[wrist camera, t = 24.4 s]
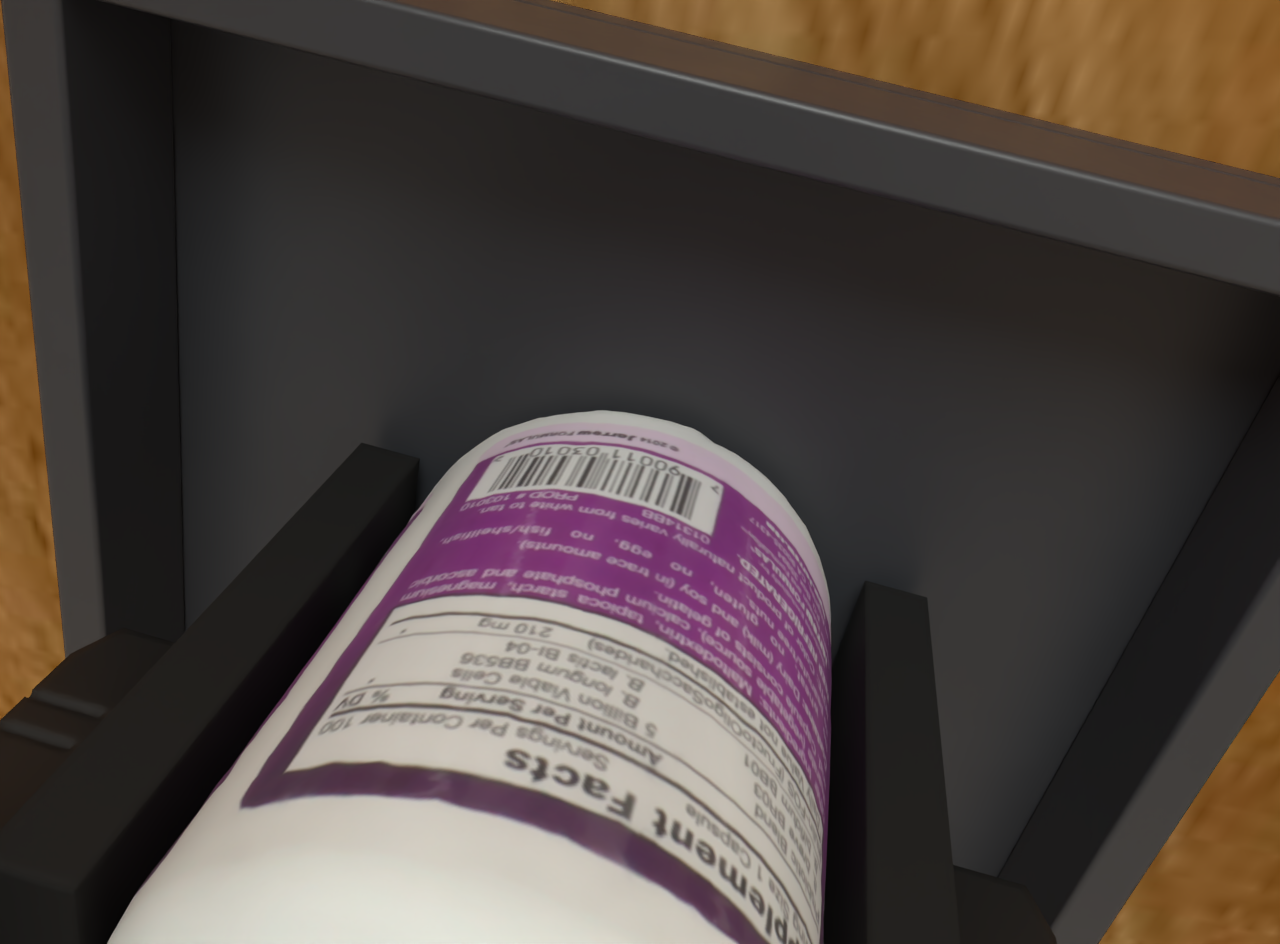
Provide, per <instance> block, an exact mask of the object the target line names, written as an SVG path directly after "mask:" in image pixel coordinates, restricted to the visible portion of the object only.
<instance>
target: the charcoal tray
mask: <svg viewBox="0 0 1280 944" xmlns="http://www.w3.org/2000/svg"><path fill="white" fill-rule="evenodd" d="M1 3H2V13H3V23H4V34H5V44H6V54H7V64H8V75H9V85H10V95H11V105H12V116H13V126H14V136H15V146H16V157H17V167H18V177H19V187H20V198H21V208H22V218H23V228H24V239H25V249H26V259H27V269H28V280H29V290H30V300H31V310H32V321H33V331H34V341H35V351H36V361H37V372H38V382H39V392H40V402H41V413H42V423H43V433H44V443H45V454H46V464H47V474H48V484H49V495H50V505H51V515H52V525H53V536H54V546H55V556H56V566H57V577H58V587H59V597H60V607H61V618H62V628H63V638H64V648H65V659H66V658H67V657H68V656H69V655H70V654H71V653H73V652H75V651H77V650H79V649H81V648H83V647H85V646H87V645H89V644H91V643H93V642H95V641H97V640H99V639H101V638H103V637H105V636H107V635H109V634H111V633H113V632H115V631H117V630H119V629H121V628H126V629H130V630H133V631H137V632H140V633H144V634H147V635H151V636H154V637H157V638H161V639H164V640H168V641H171V642H176V641H177V640H178V639H179V638H180V637H181V636H182V635H183V633H184V632H185V631H186V630H187V629H188V628H189V627H190V626H191V625H192V624H193V623H194V622H195V621H196V620H197V618H198V617H199V616H200V615H201V614H202V613H203V612H204V611H205V610H206V609H207V608H208V607H209V606H210V605H211V603H212V602H213V601H214V600H215V599H216V598H217V597H218V596H219V595H220V594H221V593H222V592H223V591H224V590H225V588H226V587H227V586H228V585H229V584H230V583H231V582H232V581H233V580H234V579H235V578H236V577H237V576H238V574H239V573H240V572H241V571H242V570H243V569H244V568H245V567H246V566H247V565H248V564H249V563H250V562H251V561H252V559H253V558H254V557H255V556H256V555H257V554H258V553H259V552H260V551H261V550H262V549H263V548H264V547H265V546H266V544H267V543H268V542H269V541H270V540H271V539H272V538H273V537H274V536H275V535H276V534H277V533H278V532H279V531H280V529H281V528H282V527H283V526H284V525H285V524H286V523H287V522H288V521H289V520H290V519H291V518H292V517H293V516H294V514H295V513H296V512H297V511H298V510H299V509H300V508H301V507H302V506H303V505H304V504H305V503H306V502H307V501H308V499H309V498H310V497H311V496H312V495H313V494H314V493H315V492H316V491H317V490H318V489H319V488H320V487H321V485H322V484H323V483H324V482H325V481H326V480H327V479H328V478H329V477H330V476H331V475H332V474H333V473H334V472H335V470H336V469H337V468H338V467H339V466H340V465H341V464H342V463H343V462H344V461H345V460H346V459H347V458H348V457H349V455H350V454H351V453H352V452H353V451H354V450H355V449H356V448H357V447H358V446H359V445H360V444H361V443H365V444H369V445H372V446H376V447H380V448H383V449H387V450H391V451H394V452H398V453H402V454H405V455H409V456H413V457H416V458H420V463H419V472H418V481H417V490H416V499H415V508H414V513H415V512H416V511H417V510H418V509H419V508H420V506H421V505H422V503H423V502H424V501H425V500H426V498H427V497H428V495H429V494H430V492H431V491H432V489H433V488H434V487H435V485H436V484H437V483H438V482H439V481H440V479H441V478H442V477H443V476H444V475H445V473H446V472H447V471H448V470H449V469H450V468H451V467H452V466H453V465H454V464H455V463H456V462H457V461H458V460H459V459H460V458H461V457H462V456H464V455H465V454H466V453H468V452H469V451H470V450H472V449H473V448H474V447H476V446H477V445H479V444H480V443H482V442H483V441H485V440H486V439H488V438H489V437H491V436H492V435H494V434H496V433H498V432H500V431H501V430H503V429H506V428H509V427H512V426H515V425H518V424H521V423H524V422H528V421H531V420H534V419H537V418H543V417H549V416H554V415H560V414H569V413H577V412H590V411H596V410H607V411H616V412H626V413H632V414H638V415H643V416H649V417H653V418H658V419H662V420H667V421H671V422H674V423H677V424H680V425H683V426H687V427H690V428H693V429H695V430H697V431H699V432H701V433H702V434H703V435H705V436H706V437H707V438H708V439H710V440H711V441H712V442H713V443H715V444H717V445H719V446H722V447H724V448H726V449H727V450H729V451H731V452H733V453H735V454H737V455H738V456H740V457H741V458H742V459H744V460H745V461H747V462H748V463H750V464H751V465H752V466H753V467H755V468H756V469H757V470H758V471H760V472H761V473H762V474H763V475H764V476H766V477H767V478H768V479H769V480H770V481H771V483H772V484H773V485H774V486H775V487H776V488H777V489H778V490H779V491H780V492H781V493H782V494H783V495H784V496H785V498H786V499H787V501H788V502H789V504H790V505H791V507H792V508H793V509H794V510H795V512H796V513H797V515H798V516H799V518H800V519H801V520H802V522H803V523H804V524H805V526H806V528H807V530H808V532H809V534H810V537H811V539H812V541H813V543H814V546H815V548H816V550H817V553H818V555H819V557H820V561H821V564H822V568H823V571H824V574H825V578H826V582H827V587H828V592H829V597H830V608H831V667H832V666H833V663H834V661H835V658H836V655H837V653H838V650H839V647H840V645H841V642H842V640H843V637H844V634H845V632H846V629H847V626H848V624H849V621H850V619H851V616H852V613H853V611H854V608H855V605H856V603H857V600H858V598H859V595H860V592H861V590H862V587H863V585H864V582H865V581H869V582H873V583H876V584H880V585H884V586H887V587H891V588H895V589H898V590H902V591H906V592H909V593H913V594H917V595H920V596H924V597H927V601H928V611H929V622H930V632H931V642H932V653H933V663H934V673H935V684H936V694H937V704H938V715H939V725H940V735H941V746H942V756H943V766H944V777H945V787H946V797H947V808H948V818H949V828H950V839H951V849H952V859H953V865H956V866H959V867H963V868H966V869H970V870H973V871H977V872H980V873H984V874H987V875H991V876H994V877H998V878H1001V879H1004V880H1008V881H1011V882H1015V883H1018V884H1022V885H1025V886H1026V887H1027V889H1028V890H1029V892H1030V894H1031V895H1032V897H1033V899H1034V901H1035V902H1036V904H1037V906H1038V908H1039V909H1040V911H1041V913H1042V915H1043V916H1044V918H1045V920H1046V921H1047V923H1048V925H1049V927H1050V928H1051V930H1052V932H1053V934H1054V935H1055V937H1056V941H1057V944H1098V943H1099V942H1100V940H1101V939H1102V937H1103V936H1104V934H1105V933H1106V931H1107V930H1108V928H1109V927H1110V925H1111V924H1112V922H1113V921H1114V919H1115V918H1116V916H1117V915H1118V913H1119V912H1120V910H1121V909H1122V907H1123V906H1124V904H1125V903H1126V901H1127V900H1128V898H1129V897H1130V895H1131V894H1132V892H1133V891H1134V889H1135V888H1136V886H1137V885H1138V883H1139V882H1140V880H1141V879H1142V877H1143V876H1144V874H1145V873H1146V871H1147V869H1148V868H1149V866H1150V865H1151V863H1152V862H1153V860H1154V859H1155V857H1156V856H1157V854H1158V853H1159V851H1160V850H1161V848H1162V847H1163V845H1164V844H1165V842H1166V841H1167V839H1168V838H1169V836H1170V835H1171V833H1172V832H1173V830H1174V829H1175V827H1176V826H1177V824H1178V823H1179V821H1180V820H1181V818H1182V817H1183V815H1184V814H1185V812H1186V811H1187V809H1188V808H1189V806H1190V805H1191V803H1192V802H1193V800H1194V799H1195V797H1196V796H1197V794H1198V793H1199V791H1200V790H1201V788H1202V787H1203V785H1204V784H1205V782H1206V781H1207V779H1208V778H1209V776H1210V775H1211V773H1212V772H1213V770H1214V769H1215V767H1216V766H1217V764H1218V763H1219V761H1220V760H1221V758H1222V757H1223V755H1224V754H1225V752H1226V751H1227V749H1228V748H1229V746H1230V745H1231V743H1232V742H1233V740H1234V739H1235V737H1236V736H1237V734H1238V733H1239V731H1240V730H1241V728H1242V727H1243V725H1244V724H1245V722H1246V721H1247V719H1248V718H1249V716H1250V715H1251V713H1252V712H1253V710H1254V709H1255V707H1256V705H1257V704H1258V702H1259V701H1260V699H1261V698H1262V696H1263V695H1264V693H1265V692H1266V690H1267V689H1268V687H1269V686H1270V684H1271V683H1272V681H1273V680H1274V678H1275V677H1276V675H1277V674H1278V672H1279V671H1280V178H1276V177H1272V176H1268V175H1264V174H1260V173H1256V172H1252V171H1248V170H1244V169H1239V168H1235V167H1231V166H1227V165H1223V164H1219V163H1215V162H1211V161H1207V160H1203V159H1198V158H1194V157H1190V156H1186V155H1182V154H1178V153H1174V152H1170V151H1166V150H1161V149H1157V148H1153V147H1149V146H1145V145H1141V144H1137V143H1133V142H1129V141H1125V140H1120V139H1116V138H1112V137H1108V136H1104V135H1100V134H1096V133H1092V132H1088V131H1084V130H1079V129H1075V128H1071V127H1067V126H1063V125H1059V124H1055V123H1051V122H1047V121H1043V120H1038V119H1034V118H1030V117H1026V116H1022V115H1018V114H1014V113H1010V112H1006V111H1001V110H997V109H993V108H989V107H985V106H981V105H977V104H973V103H969V102H965V101H960V100H956V99H952V98H948V97H944V96H940V95H936V94H932V93H928V92H924V91H919V90H915V89H911V88H907V87H903V86H899V85H895V84H891V83H887V82H883V81H878V80H874V79H870V78H866V77H862V76H858V75H854V74H850V73H846V72H842V71H837V70H833V69H829V68H825V67H821V66H817V65H813V64H809V63H805V62H800V61H796V60H792V59H788V58H784V57H780V56H776V55H772V54H768V53H764V52H759V51H755V50H751V49H747V48H743V47H739V46H735V45H731V44H727V43H723V42H718V41H714V40H710V39H706V38H702V37H698V36H694V35H690V34H686V33H682V32H677V31H673V30H669V29H665V28H661V27H657V26H653V25H649V24H645V23H640V22H636V21H632V20H628V19H624V18H620V17H616V16H612V15H608V14H604V13H599V12H595V11H591V10H587V9H583V8H579V7H575V6H571V5H567V4H563V3H558V2H554V1H550V0H1Z"/></svg>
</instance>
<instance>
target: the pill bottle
mask: <svg viewBox="0 0 1280 944" xmlns="http://www.w3.org/2000/svg"><path fill="white" fill-rule="evenodd" d="M831 684H832V667H831V608H830V597H829V592H828V587H827V582H826V578H825V574H824V571H823V568H822V564H821V561H820V557H819V555H818V553H817V550H816V548H815V546H814V543H813V541H812V539H811V537H810V534H809V532H808V530H807V528H806V526H805V524H804V523H803V522H802V520H801V519H800V518H799V516H798V515H797V513H796V512H795V510H794V509H793V508H792V507H791V505H790V504H789V502H788V501H787V499H786V498H785V496H784V495H783V494H782V493H781V492H780V491H779V490H778V489H777V488H776V487H775V486H774V485H773V484H772V483H771V481H770V480H769V479H768V478H767V477H766V476H764V475H763V474H762V473H761V472H760V471H758V470H757V469H756V468H755V467H753V466H752V465H751V464H750V463H748V462H747V461H745V460H744V459H742V458H741V457H740V456H738V455H737V454H735V453H733V452H731V451H729V450H727V449H726V448H724V447H722V446H719V445H717V444H715V443H713V442H712V441H711V440H710V439H708V438H707V437H706V436H705V435H703V434H702V433H701V432H699V431H697V430H695V429H693V428H690V427H687V426H683V425H680V424H677V423H674V422H671V421H667V420H662V419H658V418H653V417H649V416H643V415H638V414H632V413H626V412H616V411H607V410H596V411H590V412H577V413H569V414H560V415H554V416H549V417H543V418H537V419H534V420H531V421H528V422H524V423H521V424H518V425H515V426H512V427H509V428H506V429H503V430H501V431H500V432H498V433H496V434H494V435H492V436H491V437H489V438H488V439H486V440H485V441H483V442H482V443H480V444H479V445H477V446H476V447H474V448H473V449H472V450H470V451H469V452H468V453H466V454H465V455H464V456H462V457H461V458H460V459H459V460H458V461H457V462H456V463H455V464H454V465H453V466H452V467H451V468H450V469H449V470H448V471H447V472H446V473H445V475H444V476H443V477H442V478H441V479H440V481H439V482H438V483H437V484H436V485H435V487H434V488H433V489H432V491H431V492H430V494H429V495H428V497H427V498H426V500H425V501H424V502H423V503H422V505H421V506H420V508H419V509H418V510H417V511H416V512H415V513H414V514H413V515H412V517H411V518H410V520H409V522H408V524H407V525H406V527H405V528H404V529H403V531H402V532H401V533H400V534H399V536H398V537H397V538H396V539H395V541H394V542H393V544H392V545H391V546H390V548H389V549H388V551H387V552H386V554H385V555H384V556H383V558H382V559H381V561H380V562H379V564H378V565H377V566H376V568H375V569H374V571H373V572H372V574H371V575H370V576H369V578H368V579H367V581H366V582H365V583H364V585H363V586H362V587H361V589H360V590H359V592H358V593H357V594H356V596H355V597H354V599H353V600H352V602H351V603H350V604H349V606H348V607H347V609H346V610H345V612H344V613H343V614H342V616H341V617H340V619H339V620H338V621H337V623H336V624H335V626H334V627H333V628H332V630H331V631H330V632H329V634H328V635H327V637H326V638H325V639H324V641H323V642H322V643H321V645H320V646H319V648H318V649H317V650H316V652H315V653H314V654H313V656H312V657H311V659H310V660H309V661H308V662H307V664H306V665H305V666H304V667H303V669H302V670H301V671H300V673H299V674H298V676H297V677H296V678H295V680H294V681H293V683H292V684H291V685H290V687H289V688H288V690H287V691H286V692H285V694H284V695H283V696H282V698H281V699H280V701H279V702H278V703H277V704H276V706H275V707H274V708H273V710H272V711H271V712H270V714H269V715H268V717H267V718H266V719H265V721H264V722H263V723H262V725H261V726H260V727H259V729H258V730H257V732H256V733H255V734H254V736H253V737H252V738H251V740H250V741H249V743H248V744H247V745H246V747H245V748H244V750H243V751H242V752H241V754H240V755H239V757H238V758H237V759H236V761H235V762H234V764H233V765H232V766H231V768H230V769H229V770H228V772H227V773H226V774H225V775H224V776H223V777H222V779H221V780H220V781H219V782H218V784H217V785H216V786H215V788H214V789H213V791H212V792H211V794H210V795H209V796H208V798H207V799H206V801H205V802H204V804H203V805H202V807H201V808H200V810H199V811H198V813H197V814H196V815H195V816H194V818H193V819H192V820H191V822H190V823H189V824H188V826H187V827H186V828H185V829H184V831H183V832H182V833H181V835H180V836H179V837H178V839H177V840H176V841H175V842H174V844H173V845H172V846H171V848H170V849H169V850H168V851H167V853H166V854H165V855H164V857H163V858H162V859H161V860H160V862H159V863H158V864H157V865H156V867H155V868H154V869H153V870H152V872H151V873H150V874H149V876H148V877H147V878H146V880H145V881H144V883H143V884H142V885H141V887H140V888H139V890H138V891H137V892H136V894H135V895H134V897H133V899H132V901H131V902H130V904H129V906H128V907H127V909H126V911H125V913H124V914H123V916H122V918H121V920H120V921H119V923H118V925H117V926H116V928H115V930H114V932H113V933H112V935H111V937H110V939H109V941H108V943H107V944H824V903H825V881H826V859H827V836H828V809H829V784H830V747H831V712H830V711H831Z"/></svg>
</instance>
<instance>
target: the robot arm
mask: <svg viewBox="0 0 1280 944" xmlns="http://www.w3.org/2000/svg"><path fill="white" fill-rule="evenodd" d="M419 463H420V458H416V457H413V456H409V455H405V454H402V453H398V452H394V451H391V450H387V449H383V448H380V447H376V446H372V445H369V444H365V443H361V444H360V445H359V446H358V447H357V448H356V449H355V450H354V451H353V452H352V453H351V454H350V455H349V457H348V458H347V459H346V460H345V461H344V462H343V463H342V464H341V465H340V466H339V467H338V468H337V469H336V470H335V472H334V473H333V474H332V475H331V476H330V477H329V478H328V479H327V480H326V481H325V482H324V483H323V484H322V485H321V487H320V488H319V489H318V490H317V491H316V492H315V493H314V494H313V495H312V496H311V497H310V498H309V499H308V501H307V502H306V503H305V504H304V505H303V506H302V507H301V508H300V509H299V510H298V511H297V512H296V513H295V514H294V516H293V517H292V518H291V519H290V520H289V521H288V522H287V523H286V524H285V525H284V526H283V527H282V528H281V529H280V531H279V532H278V533H277V534H276V535H275V536H274V537H273V538H272V539H271V540H270V541H269V542H268V543H267V544H266V546H265V547H264V548H263V549H262V550H261V551H260V552H259V553H258V554H257V555H256V556H255V557H254V558H253V559H252V561H251V562H250V563H249V564H248V565H247V566H246V567H245V568H244V569H243V570H242V571H241V572H240V573H239V574H238V576H237V577H236V578H235V579H234V580H233V581H232V582H231V583H230V584H229V585H228V586H227V587H226V588H225V590H224V591H223V592H222V593H221V594H220V595H219V596H218V597H217V598H216V599H215V600H214V601H213V602H212V603H211V605H210V606H209V607H208V608H207V609H206V610H205V611H204V612H203V613H202V614H201V615H200V616H199V617H198V618H197V620H196V621H195V622H194V623H193V624H192V625H191V626H190V627H189V628H188V629H187V630H186V631H185V632H184V633H183V635H182V636H181V637H180V638H179V639H178V640H177V641H176V642H171V641H168V640H164V639H161V638H157V637H154V636H151V635H147V634H144V633H140V632H137V631H133V630H130V629H126V628H121V629H119V630H117V631H115V632H113V633H111V634H109V635H107V636H105V637H103V638H101V639H99V640H97V641H95V642H93V643H91V644H89V645H87V646H85V647H83V648H81V649H79V650H77V651H75V652H73V653H71V654H70V655H69V656H68V657H67V658H66V659H65V660H64V661H62V662H61V663H60V664H59V665H58V666H57V667H56V668H55V669H54V670H53V671H52V672H51V673H50V674H49V675H48V676H47V677H46V678H44V679H43V680H42V681H41V682H40V683H39V684H38V685H37V686H36V687H35V688H34V689H33V690H32V694H31V696H30V697H29V698H26V697H24V698H23V699H22V700H21V701H20V702H19V703H18V704H17V705H16V706H15V707H14V708H13V709H12V710H11V711H10V712H8V713H7V714H6V715H5V716H4V717H3V718H2V719H1V720H0V944H107V943H108V941H109V939H110V937H111V935H112V933H113V932H114V930H115V928H116V926H117V925H118V923H119V921H120V920H121V918H122V916H123V914H124V913H125V911H126V909H127V907H128V906H129V904H130V902H131V901H132V899H133V897H134V895H135V894H136V892H137V891H138V890H139V888H140V887H141V885H142V884H143V883H144V881H145V880H146V878H147V877H148V876H149V874H150V873H151V872H152V870H153V869H154V868H155V867H156V865H157V864H158V863H159V862H160V860H161V859H162V858H163V857H164V855H165V854H166V853H167V851H168V850H169V849H170V848H171V846H172V845H173V844H174V842H175V841H176V840H177V839H178V837H179V836H180V835H181V833H182V832H183V831H184V829H185V828H186V827H187V826H188V824H189V823H190V822H191V820H192V819H193V818H194V816H195V815H196V814H197V813H198V811H199V810H200V808H201V807H202V805H203V804H204V802H205V801H206V799H207V798H208V796H209V795H210V794H211V792H212V791H213V789H214V788H215V786H216V785H217V784H218V782H219V781H220V780H221V779H222V777H223V776H224V775H225V774H226V773H227V772H228V770H229V769H230V768H231V766H232V765H233V764H234V762H235V761H236V759H237V758H238V757H239V755H240V754H241V752H242V751H243V750H244V748H245V747H246V745H247V744H248V743H249V741H250V740H251V738H252V737H253V736H254V734H255V733H256V732H257V730H258V729H259V727H260V726H261V725H262V723H263V722H264V721H265V719H266V718H267V717H268V715H269V714H270V712H271V711H272V710H273V708H274V707H275V706H276V704H277V703H278V702H279V701H280V699H281V698H282V696H283V695H284V694H285V692H286V691H287V690H288V688H289V687H290V685H291V684H292V683H293V681H294V680H295V678H296V677H297V676H298V674H299V673H300V671H301V670H302V669H303V667H304V666H305V665H306V664H307V662H308V661H309V660H310V659H311V657H312V656H313V654H314V653H315V652H316V650H317V649H318V648H319V646H320V645H321V643H322V642H323V641H324V639H325V638H326V637H327V635H328V634H329V632H330V631H331V630H332V628H333V627H334V626H335V624H336V623H337V621H338V620H339V619H340V617H341V616H342V614H343V613H344V612H345V610H346V609H347V607H348V606H349V604H350V603H351V602H352V600H353V599H354V597H355V596H356V594H357V593H358V592H359V590H360V589H361V587H362V586H363V585H364V583H365V582H366V581H367V579H368V578H369V576H370V575H371V574H372V572H373V571H374V569H375V568H376V566H377V565H378V564H379V562H380V561H381V559H382V558H383V556H384V555H385V554H386V552H387V551H388V549H389V548H390V546H391V545H392V544H393V542H394V541H395V539H396V538H397V537H398V536H399V534H400V533H401V532H402V531H403V529H404V528H405V527H406V525H407V524H408V522H409V520H410V518H411V517H412V515H413V514H414V508H415V499H416V490H417V481H418V472H419ZM830 712H831V747H830V784H829V809H828V836H827V859H826V881H825V903H824V944H1057V941H1056V937H1055V935H1054V934H1053V932H1052V930H1051V928H1050V927H1049V925H1048V923H1047V921H1046V920H1045V918H1044V916H1043V915H1042V913H1041V911H1040V909H1039V908H1038V906H1037V904H1036V902H1035V901H1034V899H1033V897H1032V895H1031V894H1030V892H1029V890H1028V889H1027V887H1026V886H1025V885H1022V884H1018V883H1015V882H1011V881H1008V880H1004V879H1001V878H998V877H994V876H991V875H987V874H984V873H980V872H977V871H973V870H970V869H966V868H963V867H959V866H956V865H953V859H952V849H951V839H950V828H949V818H948V808H947V797H946V787H945V777H944V766H943V756H942V746H941V735H940V725H939V715H938V704H937V694H936V684H935V673H934V663H933V653H932V642H931V632H930V622H929V611H928V601H927V597H924V596H920V595H917V594H913V593H909V592H906V591H902V590H898V589H895V588H891V587H887V586H884V585H880V584H876V583H873V582H869V581H865V582H864V585H863V587H862V590H861V592H860V595H859V598H858V600H857V603H856V605H855V608H854V611H853V613H852V616H851V619H850V621H849V624H848V626H847V629H846V632H845V634H844V637H843V640H842V642H841V645H840V647H839V650H838V653H837V655H836V658H835V661H834V663H833V666H832V684H831V711H830Z"/></svg>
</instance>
